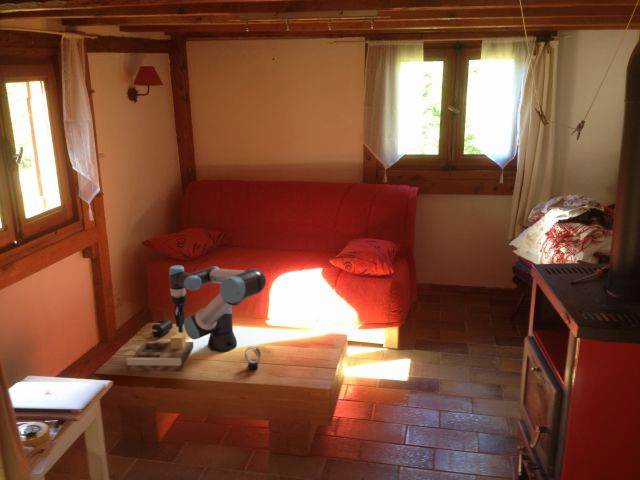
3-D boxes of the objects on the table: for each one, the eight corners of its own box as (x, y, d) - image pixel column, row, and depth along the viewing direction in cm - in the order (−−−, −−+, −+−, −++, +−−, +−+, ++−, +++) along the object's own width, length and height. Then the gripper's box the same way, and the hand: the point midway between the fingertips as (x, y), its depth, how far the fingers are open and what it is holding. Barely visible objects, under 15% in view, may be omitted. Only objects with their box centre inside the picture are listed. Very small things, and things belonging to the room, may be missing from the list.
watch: (261, 370, 286) (260, 350, 283) (244, 370, 286) (243, 350, 283) (262, 365, 292) (261, 344, 289) (246, 365, 292) (245, 344, 289)
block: (185, 343, 309) (184, 333, 307) (182, 348, 303) (181, 338, 301) (174, 343, 309) (173, 332, 307) (171, 348, 303) (170, 337, 301)
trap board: (193, 347, 311) (192, 336, 310) (180, 371, 286) (179, 359, 285) (144, 346, 312) (143, 336, 311) (127, 370, 287) (126, 359, 286)
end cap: (163, 338, 322) (162, 327, 320) (152, 337, 324) (151, 325, 322) (173, 331, 331) (172, 319, 329) (162, 329, 333) (161, 318, 331)
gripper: (174, 290, 312) (178, 331, 319) (167, 299, 300) (171, 342, 306) (188, 290, 312) (191, 331, 318) (182, 299, 299) (185, 342, 306)
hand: (181, 336), depth 312 cm, fingers closed
